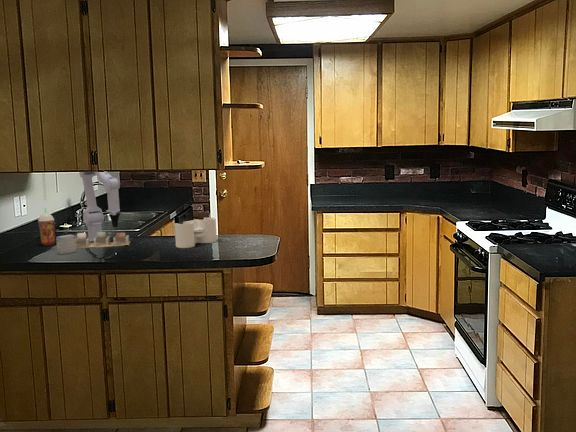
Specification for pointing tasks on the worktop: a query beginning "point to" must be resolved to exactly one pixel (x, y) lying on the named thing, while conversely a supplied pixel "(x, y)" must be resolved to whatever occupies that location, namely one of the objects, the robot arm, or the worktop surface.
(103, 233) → the sage key
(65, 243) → the medicine box
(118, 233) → the terracotta key
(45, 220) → the smoothie
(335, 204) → the worktop surface
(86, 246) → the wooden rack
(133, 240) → the worktop surface
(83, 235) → the ivory key
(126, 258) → the worktop surface
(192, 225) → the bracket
